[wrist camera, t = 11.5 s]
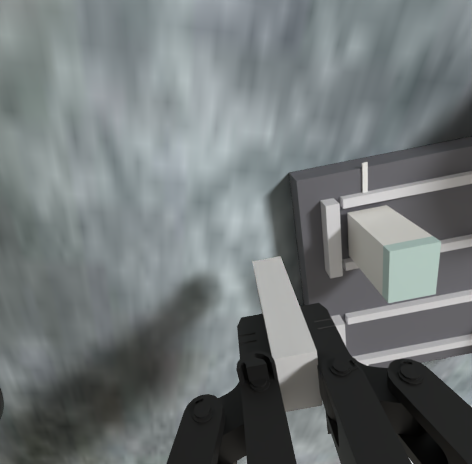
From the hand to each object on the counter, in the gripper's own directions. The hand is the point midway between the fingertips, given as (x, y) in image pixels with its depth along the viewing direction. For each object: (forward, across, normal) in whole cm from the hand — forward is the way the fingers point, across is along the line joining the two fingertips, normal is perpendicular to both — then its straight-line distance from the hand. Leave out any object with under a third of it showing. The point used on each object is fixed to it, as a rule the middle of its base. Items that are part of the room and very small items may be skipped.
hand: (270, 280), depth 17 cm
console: (+6, +14, -4) cm, 15 cm away
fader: (+3, +7, 0) cm, 7 cm away
